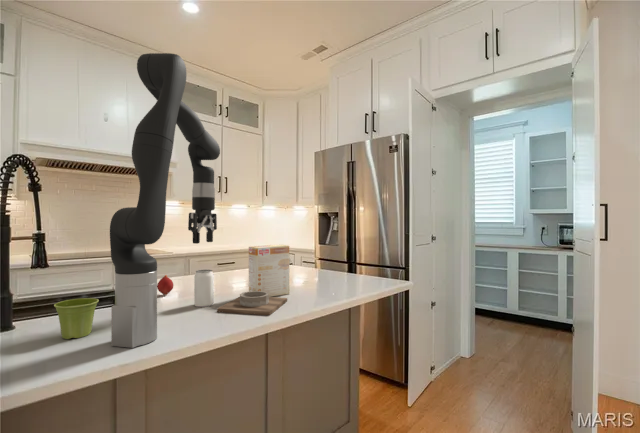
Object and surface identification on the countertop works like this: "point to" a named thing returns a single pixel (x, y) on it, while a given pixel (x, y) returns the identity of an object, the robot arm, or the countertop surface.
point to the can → (204, 288)
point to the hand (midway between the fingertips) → (203, 242)
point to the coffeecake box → (269, 269)
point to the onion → (165, 285)
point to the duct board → (253, 310)
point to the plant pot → (76, 316)
